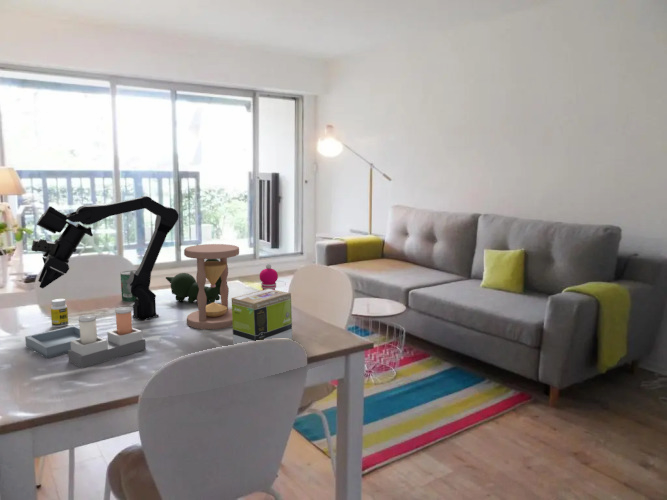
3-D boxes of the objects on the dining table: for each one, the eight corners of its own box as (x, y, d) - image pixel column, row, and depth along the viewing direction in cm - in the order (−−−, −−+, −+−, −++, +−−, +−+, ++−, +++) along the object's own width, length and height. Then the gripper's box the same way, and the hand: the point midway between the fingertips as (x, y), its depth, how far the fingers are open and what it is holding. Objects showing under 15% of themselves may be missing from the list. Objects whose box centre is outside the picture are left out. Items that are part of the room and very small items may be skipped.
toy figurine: (229, 305, 196) (171, 295, 202) (232, 257, 193) (173, 248, 199) (217, 312, 187) (157, 301, 193) (220, 262, 184) (159, 252, 190)
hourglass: (213, 333, 159) (211, 254, 155) (175, 323, 168) (172, 248, 164) (251, 319, 173) (250, 246, 169) (214, 311, 182) (212, 242, 178)
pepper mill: (284, 322, 170) (284, 264, 167) (267, 327, 165) (267, 266, 161) (270, 318, 175) (270, 261, 171) (253, 322, 169) (252, 263, 166)
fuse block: (132, 343, 148) (131, 325, 147) (145, 349, 144) (144, 330, 143) (68, 361, 134) (67, 341, 134) (81, 368, 130) (79, 347, 129)
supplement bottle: (61, 328, 162) (59, 302, 161) (48, 327, 163) (46, 301, 162) (71, 323, 167) (70, 298, 165) (59, 322, 168) (57, 297, 166)
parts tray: (76, 334, 156) (75, 325, 155) (98, 344, 147) (97, 334, 147) (26, 346, 145) (25, 336, 144) (47, 358, 136) (46, 347, 136)
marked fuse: (128, 336, 145) (126, 306, 144) (136, 339, 143) (134, 308, 141) (114, 340, 142) (112, 309, 141) (121, 343, 140) (120, 311, 138)
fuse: (93, 345, 138) (91, 313, 136) (101, 349, 135) (99, 316, 134) (77, 349, 135) (75, 316, 133) (85, 353, 132) (82, 320, 130)
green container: (122, 298, 199) (121, 270, 198) (144, 297, 202) (142, 269, 200) (120, 303, 192) (119, 274, 190) (143, 302, 194) (141, 273, 192)
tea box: (269, 333, 159) (269, 287, 157) (292, 340, 153) (292, 292, 150) (231, 346, 147) (230, 296, 145) (255, 354, 141) (254, 302, 139)
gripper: (41, 225, 163) (13, 267, 160) (44, 231, 147) (13, 278, 145) (75, 242, 169) (48, 283, 166) (81, 250, 153) (52, 295, 151)
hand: (40, 284), depth 157 cm, fingers open, 9 cm apart
